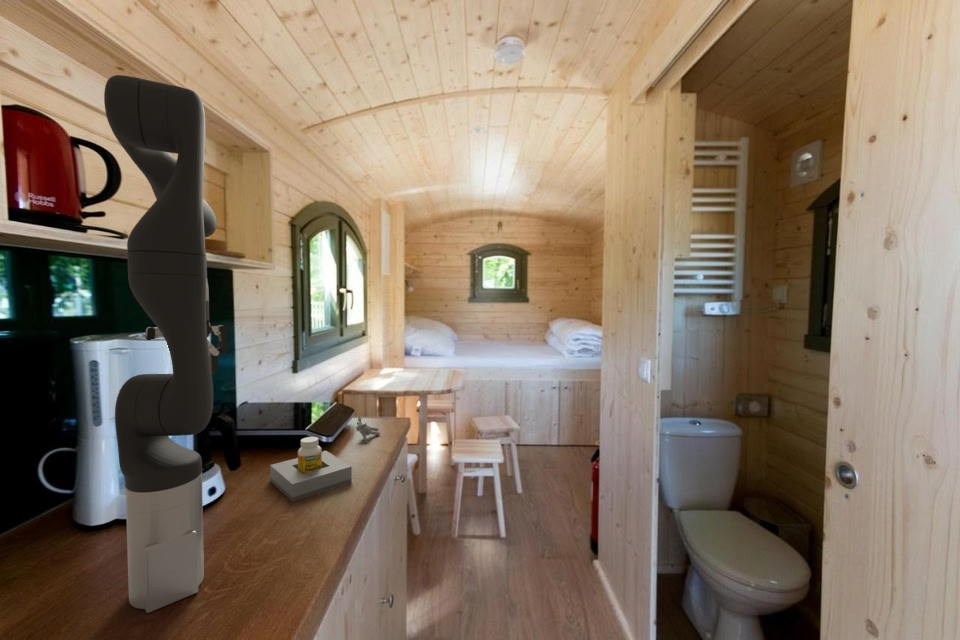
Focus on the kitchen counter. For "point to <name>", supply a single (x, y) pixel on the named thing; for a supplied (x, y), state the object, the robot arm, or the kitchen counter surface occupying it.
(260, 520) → the kitchen counter surface
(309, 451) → the supplement bottle
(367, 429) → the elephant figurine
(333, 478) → the socket block
